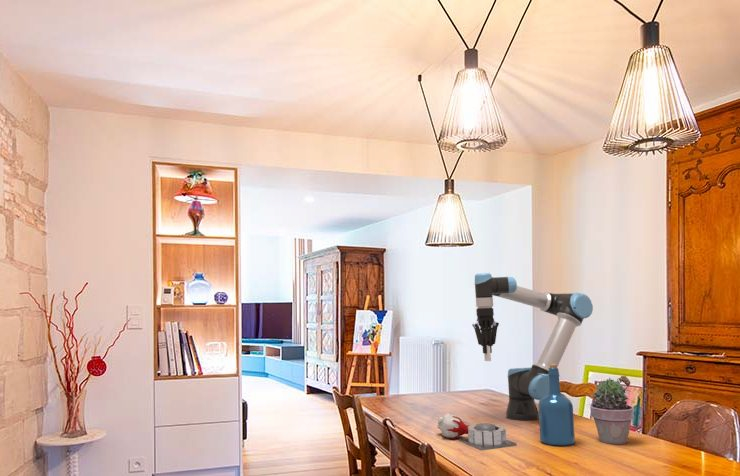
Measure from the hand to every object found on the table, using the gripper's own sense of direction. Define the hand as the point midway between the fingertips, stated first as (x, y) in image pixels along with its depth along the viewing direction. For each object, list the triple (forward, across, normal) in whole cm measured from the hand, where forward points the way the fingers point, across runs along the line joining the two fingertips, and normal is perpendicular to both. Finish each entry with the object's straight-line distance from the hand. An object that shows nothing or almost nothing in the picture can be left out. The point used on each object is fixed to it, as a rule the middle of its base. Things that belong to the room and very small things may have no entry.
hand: (487, 360), depth 253 cm
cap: (+28, +18, +22) cm, 40 cm away
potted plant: (+30, -26, +43) cm, 58 cm away
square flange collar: (+29, +18, +22) cm, 40 cm away
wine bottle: (+29, -7, +34) cm, 45 cm away
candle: (+29, +24, +8) cm, 38 cm away
